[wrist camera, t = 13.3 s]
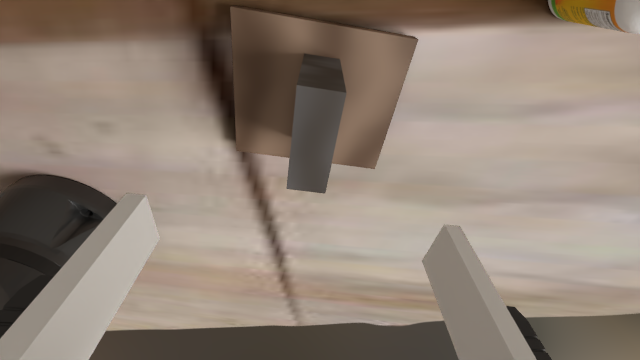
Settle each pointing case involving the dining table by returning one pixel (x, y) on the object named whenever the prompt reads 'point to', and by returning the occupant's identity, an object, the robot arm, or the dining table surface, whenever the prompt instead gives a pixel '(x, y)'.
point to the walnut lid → (314, 91)
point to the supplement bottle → (600, 13)
